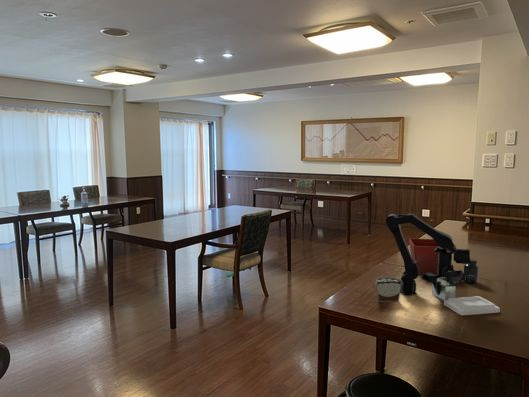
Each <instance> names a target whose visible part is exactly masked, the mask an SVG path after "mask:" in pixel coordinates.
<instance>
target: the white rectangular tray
mask: <svg viewBox="0 0 529 397" xmlns="http://www.w3.org/2000/svg"><path fill="white" fill-rule="evenodd" d="M443 306H445V307H447V308H448V309H450V310H452V311H454V312H455V313H456V314H458V315H460V316H470V315H482V314H483V315H484V314H494V313H500V311H501V310H500V309H501V307H499V306H497V305H496V304H495V303H494V302H491V301H489V300H488V299H485V298H483V297H481V296H479V295H476V296H475V295H474V296H463V297H455V298H449V300H444V301H443Z"/></svg>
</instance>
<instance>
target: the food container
mask: <svg viewBox="0 0 529 397" xmlns="http://www.w3.org/2000/svg"><path fill="white" fill-rule="evenodd" d="M400 279H401V278H398V277H397V278H396V277H393V276H379V277H377V278H376V280H375V282H374V284H375V286H376V291H377V292H376V293H377V302H379V303H386V302H387V303H389V302H391V301H396V302H399V301H400V295H401V292H400V289H401V284H402V280H400ZM402 285H403V284H402ZM391 303H392V302H391Z"/></svg>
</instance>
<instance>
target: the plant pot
mask: <svg viewBox="0 0 529 397" xmlns="http://www.w3.org/2000/svg"><path fill="white" fill-rule="evenodd" d="M408 243H409V252H410V255H411V257H412V259H413V260H414V261H416V260H417V261H418V265H419V267H420V270H419V275H423V274H424V273H432V274H434V275H438V274H437V273H436V271H438V265H436V263H438V254H439V252H434V250H435V249H436V248H437V247H438V246H439V245H438V244H437V243H436V242H435V241H434V239H433V238H414V237H413V238H409V239H408ZM439 247H440V246H439ZM440 248H442V247H440ZM447 250H448V249H447ZM448 251H449V250H448Z"/></svg>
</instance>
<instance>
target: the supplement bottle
mask: <svg viewBox="0 0 529 397" xmlns="http://www.w3.org/2000/svg"><path fill="white" fill-rule="evenodd" d="M477 264H478V261H477V259H476V258H470V265H469V264H463V271H462V272H463V273H464V274H465V276H466V280H462V282H464V283H466V284H470V285H475V284H477V283H478V281H479V268H480V267H479V265H477Z"/></svg>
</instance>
